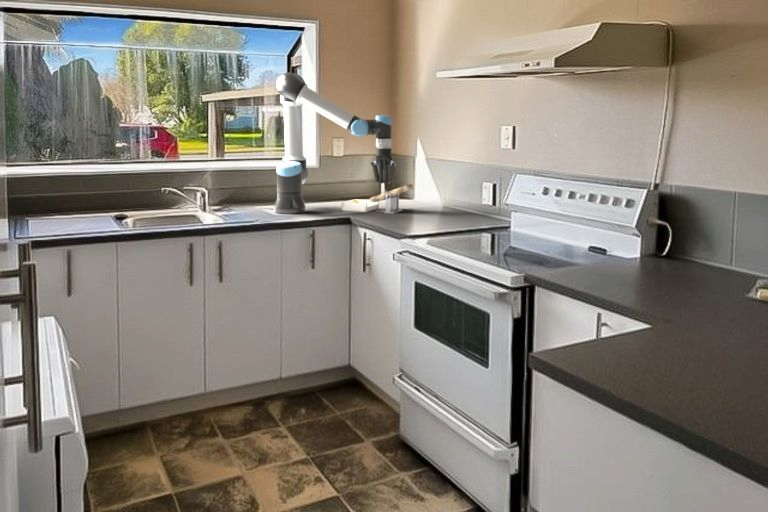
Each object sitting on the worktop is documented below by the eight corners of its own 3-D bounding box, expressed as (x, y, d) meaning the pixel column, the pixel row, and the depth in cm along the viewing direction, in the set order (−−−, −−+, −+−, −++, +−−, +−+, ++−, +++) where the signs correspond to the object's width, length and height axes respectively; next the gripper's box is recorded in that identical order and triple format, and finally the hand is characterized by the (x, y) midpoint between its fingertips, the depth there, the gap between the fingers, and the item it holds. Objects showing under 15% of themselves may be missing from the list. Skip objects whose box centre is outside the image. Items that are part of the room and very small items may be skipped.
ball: (349, 201, 362) (355, 200, 360) (352, 201, 365) (358, 199, 363) (350, 208, 362) (356, 207, 360) (353, 208, 365) (360, 206, 364)
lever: (370, 203, 355) (368, 198, 355) (382, 200, 367) (380, 195, 367) (407, 190, 346) (406, 185, 345) (418, 187, 358) (417, 182, 358)
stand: (381, 212, 351) (381, 193, 349) (391, 209, 361) (391, 191, 359) (393, 213, 349) (393, 193, 347) (402, 210, 359) (402, 191, 357)
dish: (341, 210, 358) (341, 202, 357) (354, 207, 371) (354, 199, 370) (366, 212, 353) (366, 203, 352) (378, 208, 365) (378, 200, 365)
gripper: (368, 147, 358) (368, 196, 362) (392, 148, 353) (393, 197, 357) (374, 147, 365) (374, 195, 369) (399, 147, 359) (399, 196, 364)
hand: (383, 196), depth 363 cm, fingers closed
